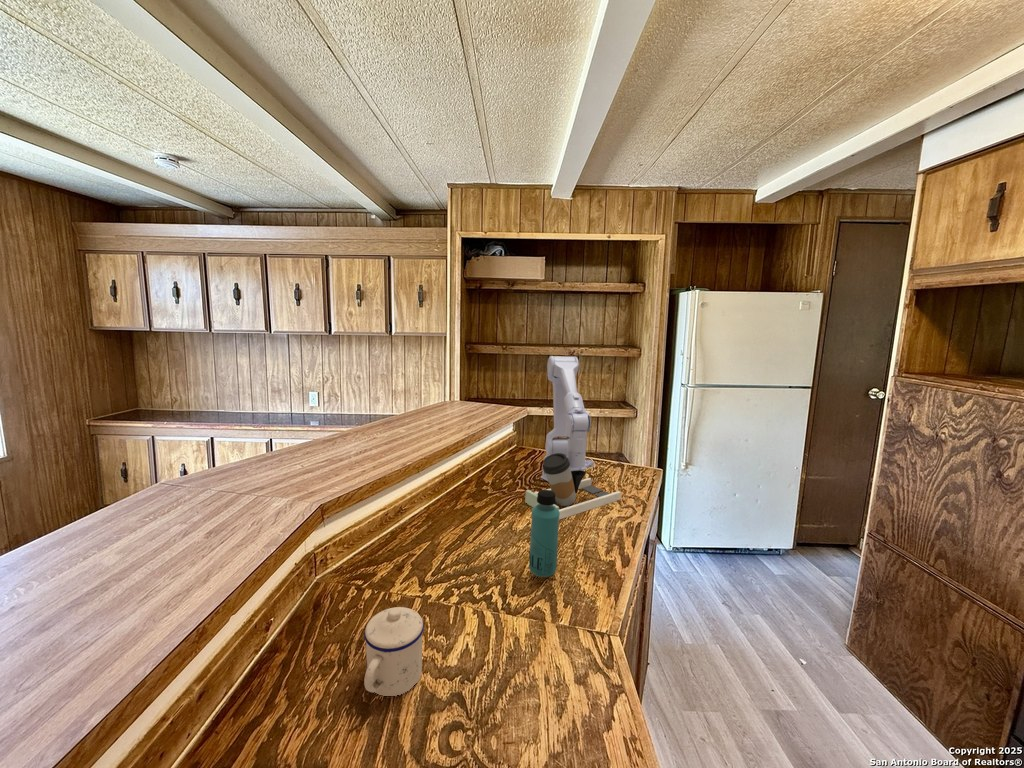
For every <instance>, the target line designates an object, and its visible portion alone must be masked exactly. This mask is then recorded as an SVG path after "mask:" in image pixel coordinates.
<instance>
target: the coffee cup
mask: <svg viewBox="0 0 1024 768" xmlns="http://www.w3.org/2000/svg"><path fill="white" fill-rule="evenodd" d="M542 461H543V462H542V472H543V471H544V472H545V474H546V477H547V479H548V481H547V482H548V485H549V487H550V488H551V490H552V491H553V492H554V493H555V499H556V503H557V504H558V506H562V507H569V506H570V505H571V506H572V505H573V504H574V503H575V502H576V499H577V493H575V487H574V482H573V478H572V474H571V469H570V462H569V460H568V458H567V457H566V456H565V455H564V454H561V453H555V454H551V455H549V456H547V457H546V458H545V459H544V458H543V460H542ZM550 488H549V489H550Z"/></svg>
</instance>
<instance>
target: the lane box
mask: <svg viewBox="0 0 1024 768" xmlns="http://www.w3.org/2000/svg"><path fill="white" fill-rule="evenodd" d="M591 485H592V478H591V477H587V478H584V479H582V481H581V482H580V485H579V488H578V490H582V488H584V487H587V486H591ZM545 490H550V491H552V490H551V488H547V489H545ZM538 492H539V491H535V492H534V493H535V494H537V495H538ZM621 495H622V492H621V491H620V490H618V491H614V492H611V493H610V494H608V495H605V496H601V497H595V498H593V499H589V500H585V501H583V502H579V503H576V504H572V505H571V506H570V505H568V506H565V507H564V508H561V509H560V508H559V512H560V515H559V521H560V520H562V519H566V518H569V517H571V516H575V515H578V514H581V513H583V512H587V511H590V510H593V509H596V508H598V507H601V506H605V505H608V504H611V503H613V502H617V501H621V498H622V497H621Z"/></svg>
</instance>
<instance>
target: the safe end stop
mask: <svg viewBox="0 0 1024 768" xmlns="http://www.w3.org/2000/svg"><path fill="white" fill-rule="evenodd" d="M524 496H525V497H524V498H525V500H524V503H525V504H526V503H527V504H526V505H528V506H530V507H531V508H532V509H533V508H534V507H535V506H536V505H538V504H539V503H538V502H537V496H538V495H537V494H535V492H533V491H531V490H530V489H527V490H525V495H524ZM553 505H554V506H555V507H556V508H557V509H558V510H560V507H559V505H556V503H555V504H553Z"/></svg>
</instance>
